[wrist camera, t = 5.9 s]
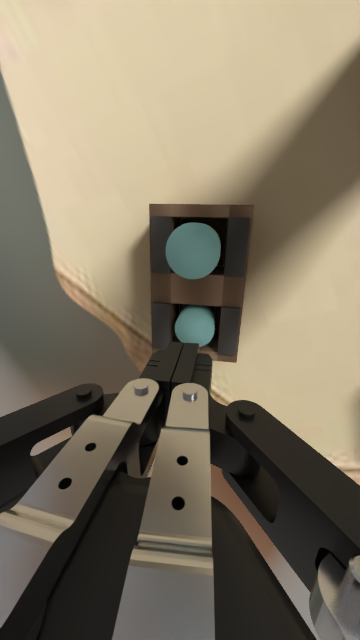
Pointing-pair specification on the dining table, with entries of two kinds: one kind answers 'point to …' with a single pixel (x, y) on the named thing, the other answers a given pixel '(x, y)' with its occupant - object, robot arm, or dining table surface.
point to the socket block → (210, 290)
